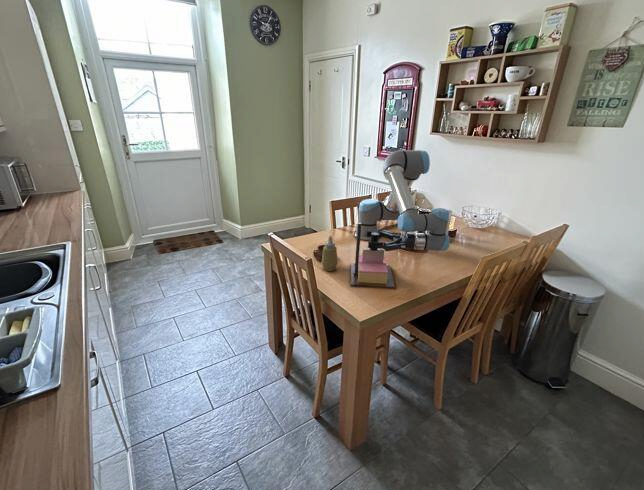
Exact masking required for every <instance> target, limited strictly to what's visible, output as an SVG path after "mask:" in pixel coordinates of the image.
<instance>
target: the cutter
mask: <svg viewBox="0 0 644 490" xmlns="http://www.w3.org/2000/svg"><path fill="white" fill-rule="evenodd" d="M379 240H380V237H379V233H376V232H373V233H371V240H370V242H380V241H379ZM362 256H363V257H362V262H364V263H383V260H384V257H385V250H384V249H378V248H363V249H362Z"/></svg>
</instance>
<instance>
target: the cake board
mask: <svg viewBox="0 0 644 490" xmlns="http://www.w3.org/2000/svg"><path fill="white" fill-rule="evenodd" d="M357 226H358V228H357V227H356V228H357V238H356V243H355V245H356V246H355V258H354V263H350V287H354V288H355V287H357V288H371V289H392V290H395V289H396V286H395V281H394V277H393V274H392V269H391V266H390V264H389V265H388V264H386V266H387V270H388V277H387V284H381V283H363V282H359V281H358V263H359V255H360V248H361V239H360V235H361V223H358V222H357Z"/></svg>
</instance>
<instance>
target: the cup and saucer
mask: <svg viewBox="0 0 644 490" xmlns="http://www.w3.org/2000/svg"><path fill="white" fill-rule="evenodd" d="M324 246H325V244H321V245H320V244H319V245H318V246H317V249H314V250H313V252H312V255H313V258H315V259H316V260H318V261H322V255H323V248H324Z"/></svg>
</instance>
